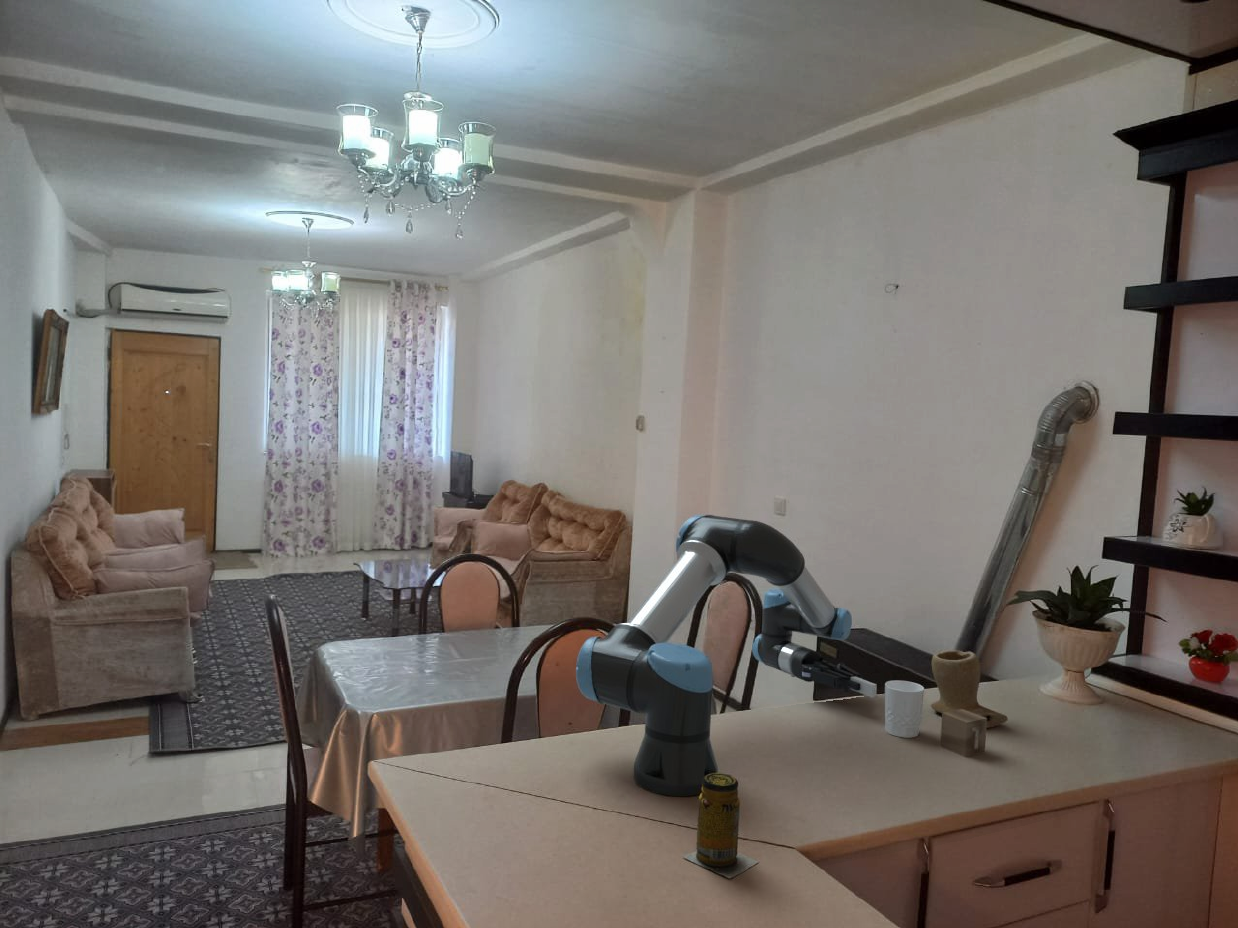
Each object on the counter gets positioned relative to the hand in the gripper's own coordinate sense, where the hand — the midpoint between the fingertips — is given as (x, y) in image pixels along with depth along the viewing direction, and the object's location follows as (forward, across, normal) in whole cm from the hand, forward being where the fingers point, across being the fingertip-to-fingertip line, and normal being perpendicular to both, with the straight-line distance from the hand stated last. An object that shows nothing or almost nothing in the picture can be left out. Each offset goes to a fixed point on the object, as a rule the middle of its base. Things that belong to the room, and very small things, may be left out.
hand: (873, 690), depth 195 cm
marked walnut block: (+21, -4, -6) cm, 22 cm away
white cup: (+9, 0, -7) cm, 11 cm away
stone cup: (+8, -19, -7) cm, 22 cm away
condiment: (+36, +68, -6) cm, 77 cm away
